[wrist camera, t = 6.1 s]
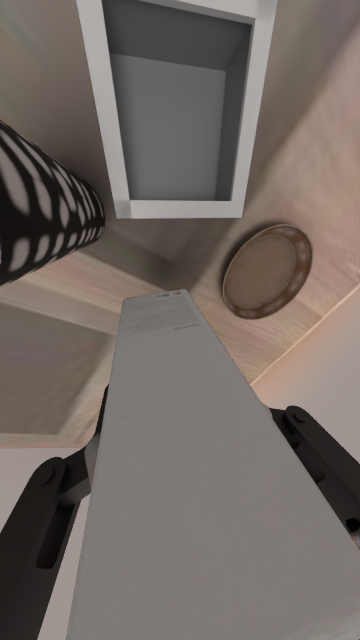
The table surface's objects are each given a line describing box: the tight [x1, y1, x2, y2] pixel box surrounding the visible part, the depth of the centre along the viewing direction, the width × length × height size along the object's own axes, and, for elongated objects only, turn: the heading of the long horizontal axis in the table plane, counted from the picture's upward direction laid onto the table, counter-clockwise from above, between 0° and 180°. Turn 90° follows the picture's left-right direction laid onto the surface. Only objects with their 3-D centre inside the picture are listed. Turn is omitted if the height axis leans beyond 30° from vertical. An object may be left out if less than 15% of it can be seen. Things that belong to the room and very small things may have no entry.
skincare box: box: [66, 289, 360, 640], centre depth 10 cm, size 8×6×15 cm
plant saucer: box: [223, 224, 313, 320], centre depth 31 cm, size 18×18×3 cm
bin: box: [76, 0, 278, 219], centre depth 17 cm, size 15×15×6 cm
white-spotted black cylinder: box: [0, 120, 105, 287], centre depth 13 cm, size 8×8×20 cm
